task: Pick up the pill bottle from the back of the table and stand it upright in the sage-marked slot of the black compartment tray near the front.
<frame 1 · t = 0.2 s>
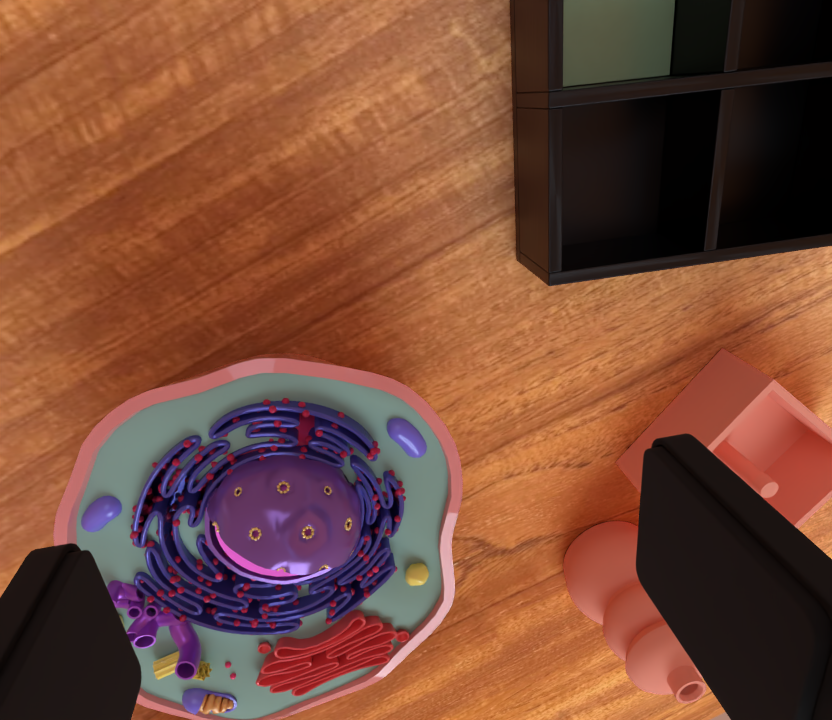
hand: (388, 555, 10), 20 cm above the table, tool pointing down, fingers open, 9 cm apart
cell model: (281, 461, 32), on the table
pottery: (663, 492, 38), on the table
black compartment tray: (666, 83, 27), on the table
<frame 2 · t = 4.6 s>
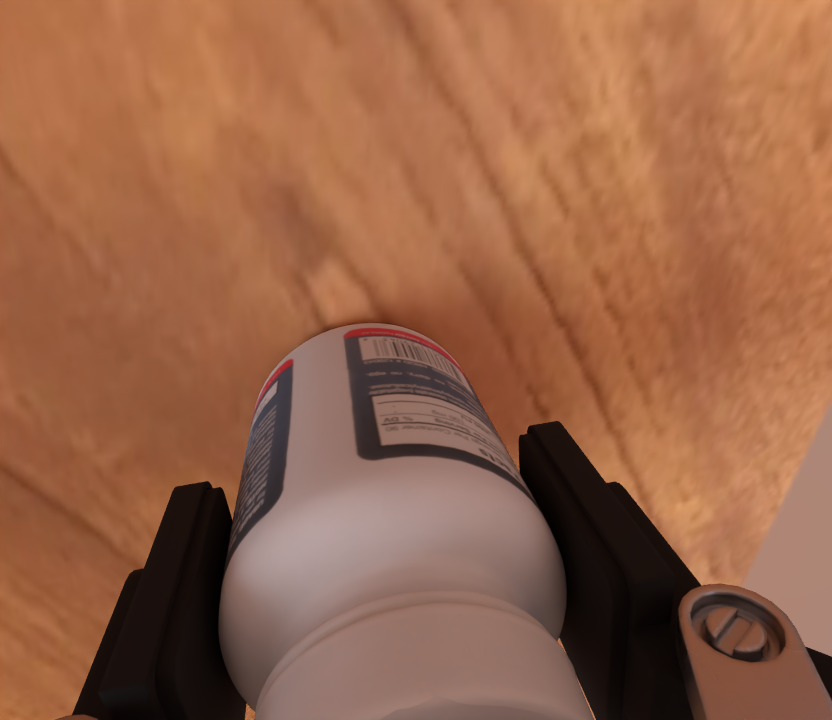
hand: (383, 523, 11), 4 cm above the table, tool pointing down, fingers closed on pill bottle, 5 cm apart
pill bottle: (366, 415, 14), on the table, touching gripper
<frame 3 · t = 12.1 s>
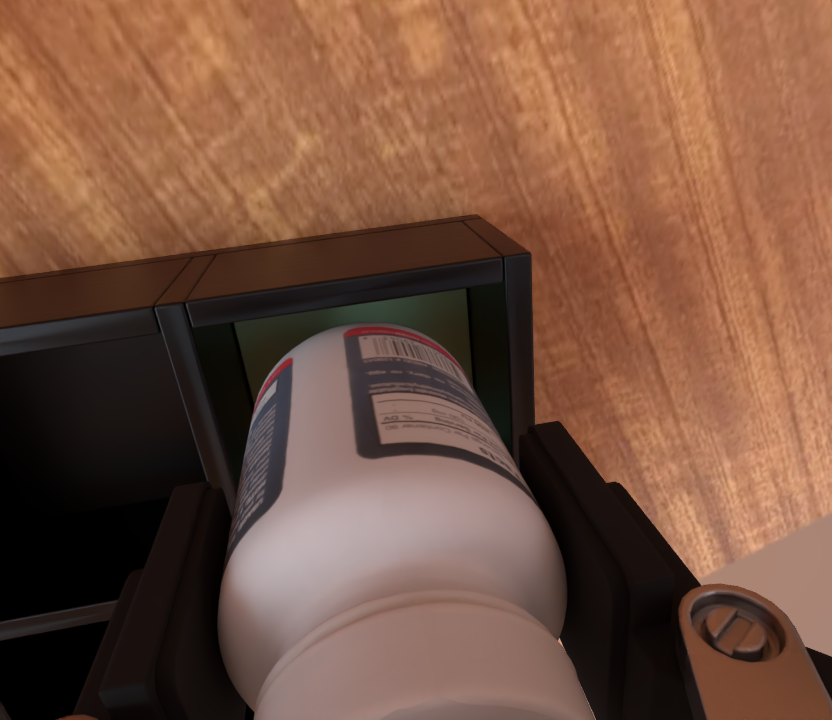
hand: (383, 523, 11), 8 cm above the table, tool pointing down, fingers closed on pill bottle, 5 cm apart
black compartment tray: (266, 477, 19), on the table
pill bottle: (366, 414, 14), point 3 cm above the table, touching gripper
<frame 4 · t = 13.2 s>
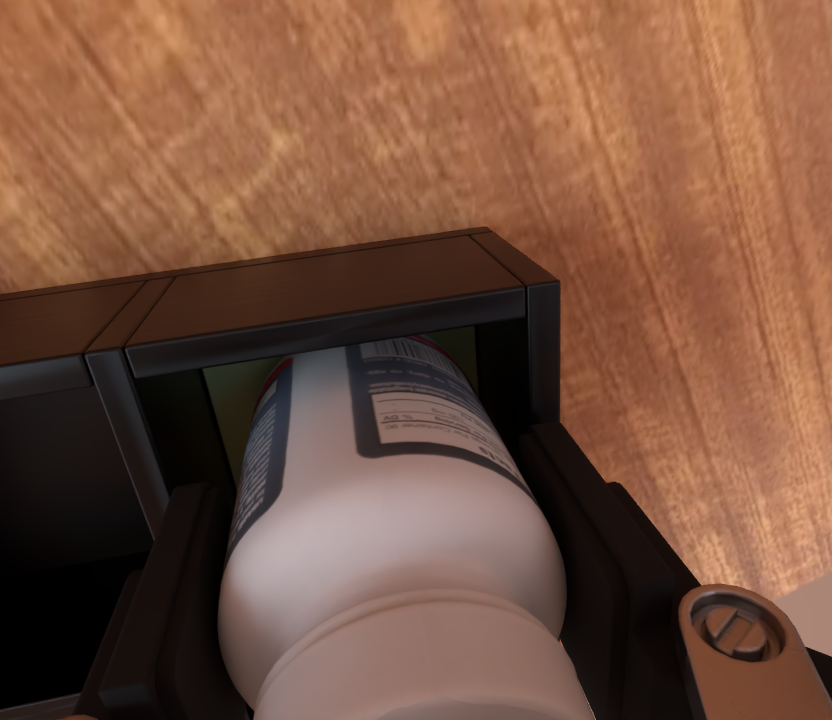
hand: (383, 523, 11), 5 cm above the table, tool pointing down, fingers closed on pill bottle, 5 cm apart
black compartment tray: (242, 528, 16), on the table
pill bottle: (366, 414, 14), point 1 cm above the table, touching gripper
when the fingers open (6 cm above the table, at t = 19.7 s): pill bottle drops 1 cm, resting on black compartment tray.
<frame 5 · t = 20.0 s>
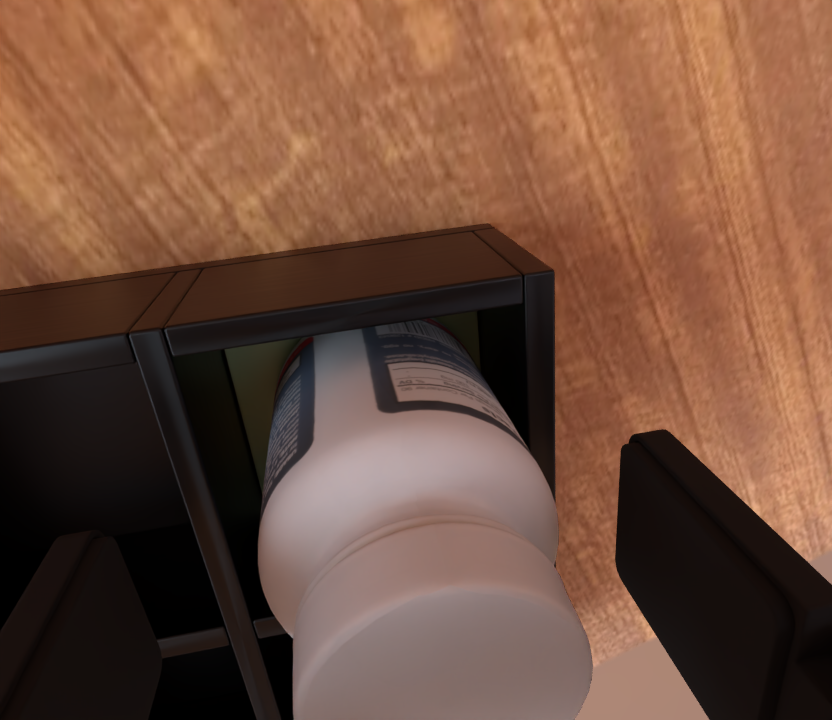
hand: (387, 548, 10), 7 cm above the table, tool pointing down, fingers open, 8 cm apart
black compartment tray: (259, 506, 17), on the table
pill bottle: (378, 391, 16), point 1 cm above the table, touching black compartment tray
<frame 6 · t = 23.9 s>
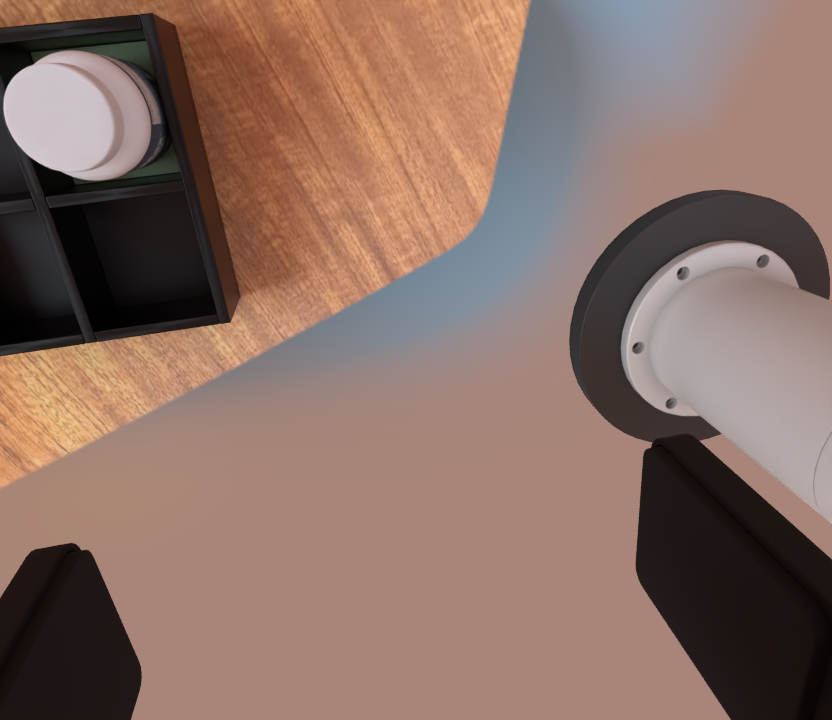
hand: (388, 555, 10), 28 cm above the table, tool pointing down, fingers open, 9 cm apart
black compartment tray: (75, 190, 33), on the table
pill bottle: (126, 115, 31), point 1 cm above the table, touching black compartment tray
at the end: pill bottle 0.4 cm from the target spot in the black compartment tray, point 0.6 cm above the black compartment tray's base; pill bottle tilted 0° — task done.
